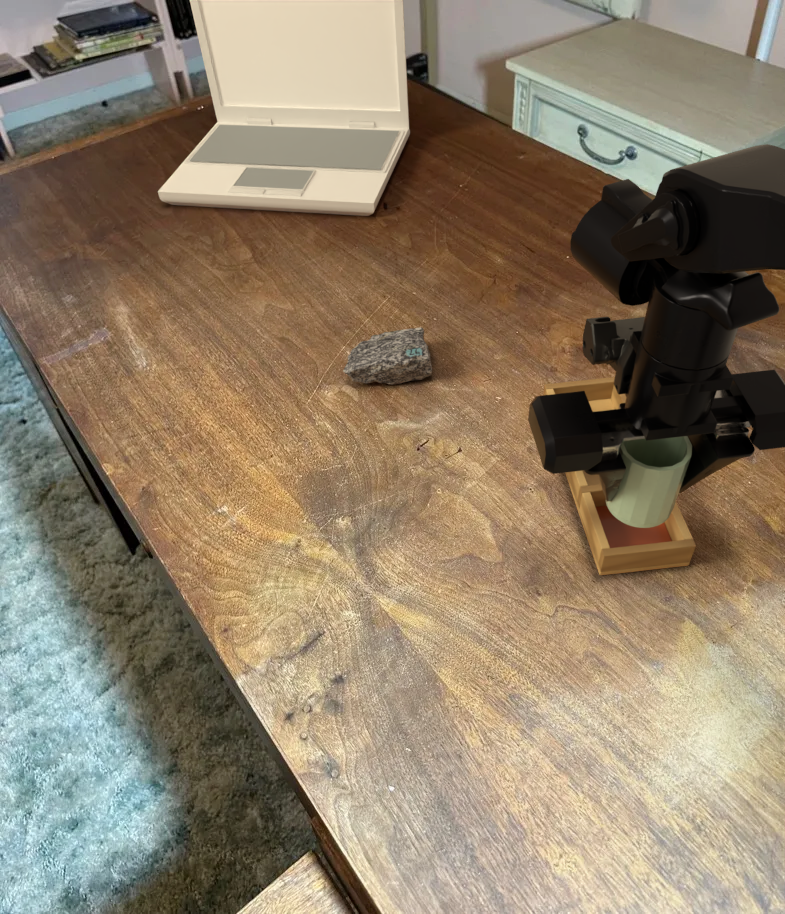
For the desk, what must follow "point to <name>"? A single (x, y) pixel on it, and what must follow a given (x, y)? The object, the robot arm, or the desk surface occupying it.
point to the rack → (605, 533)
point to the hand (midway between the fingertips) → (641, 493)
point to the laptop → (298, 106)
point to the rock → (390, 358)
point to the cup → (650, 480)
